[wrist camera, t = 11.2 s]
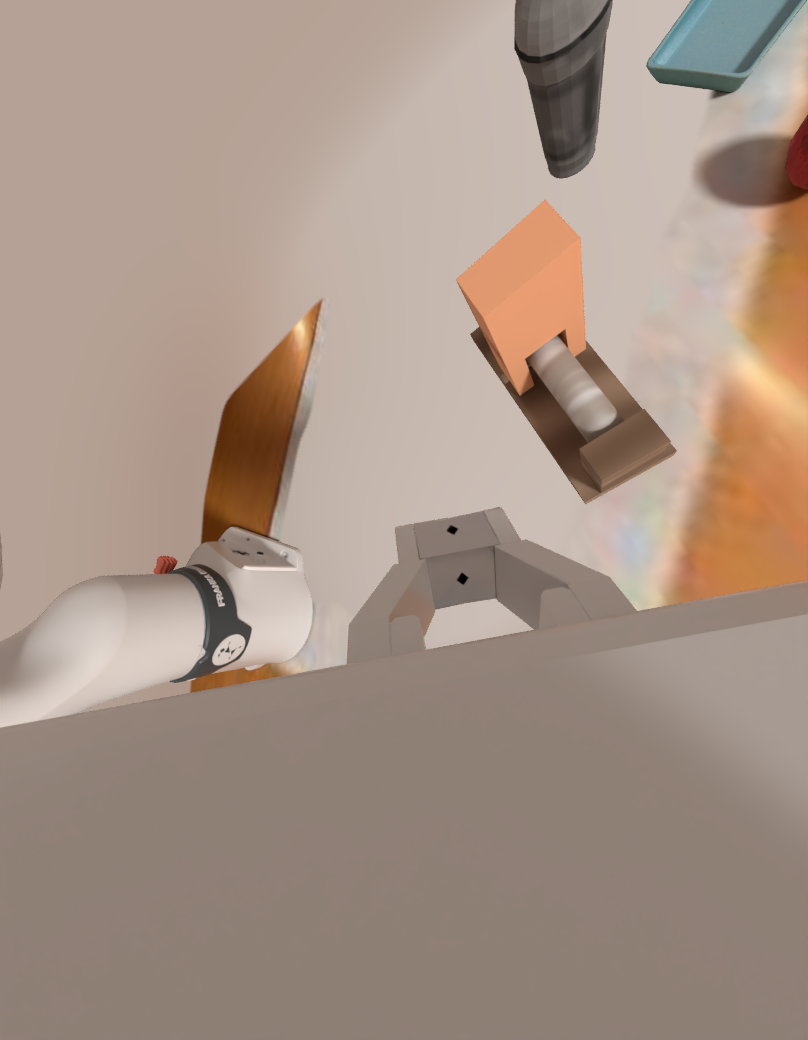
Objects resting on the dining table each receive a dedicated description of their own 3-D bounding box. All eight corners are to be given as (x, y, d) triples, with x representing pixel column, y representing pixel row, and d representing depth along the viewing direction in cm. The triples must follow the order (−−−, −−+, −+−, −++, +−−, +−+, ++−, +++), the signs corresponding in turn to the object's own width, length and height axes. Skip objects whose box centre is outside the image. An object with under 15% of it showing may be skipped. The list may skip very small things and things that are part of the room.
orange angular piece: (585, 348, 34) (580, 237, 22) (519, 395, 37) (483, 317, 25) (562, 319, 35) (544, 199, 24) (499, 366, 38) (455, 279, 26)
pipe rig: (673, 455, 32) (693, 428, 25) (585, 504, 35) (582, 491, 28) (538, 289, 39) (526, 234, 32) (474, 341, 42) (451, 300, 35)
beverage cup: (555, 205, 39) (520, -89, 21) (522, 164, 41) (467, -134, 23) (625, 147, 36) (653, -245, 19) (587, 107, 38) (579, -280, 21)
